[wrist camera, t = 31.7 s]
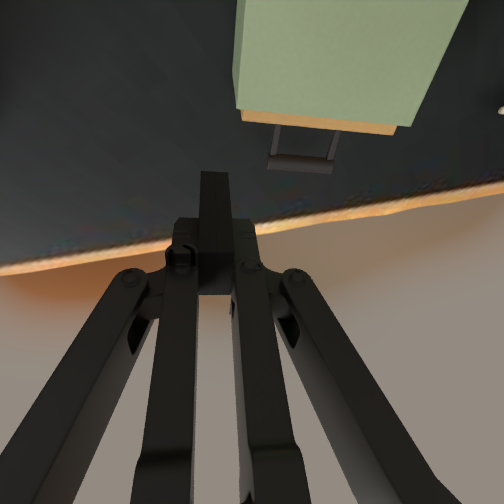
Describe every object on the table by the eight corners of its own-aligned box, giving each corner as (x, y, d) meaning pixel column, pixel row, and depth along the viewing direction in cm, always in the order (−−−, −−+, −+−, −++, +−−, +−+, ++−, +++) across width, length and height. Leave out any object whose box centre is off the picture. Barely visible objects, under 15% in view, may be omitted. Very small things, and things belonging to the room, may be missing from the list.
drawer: (343, 152, 38) (368, 191, 31) (232, 143, 36) (235, 182, 30) (439, -133, 23) (527, -172, 16) (259, -176, 21) (277, -238, 15)
